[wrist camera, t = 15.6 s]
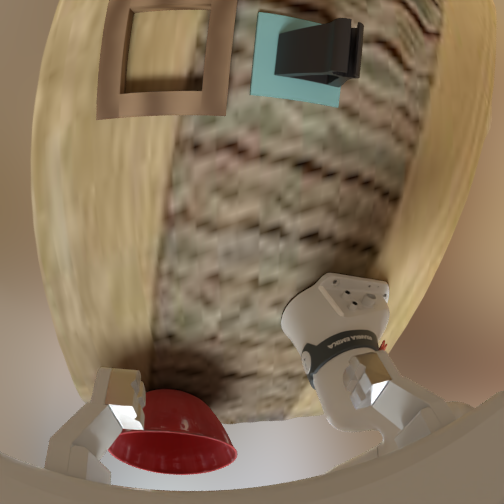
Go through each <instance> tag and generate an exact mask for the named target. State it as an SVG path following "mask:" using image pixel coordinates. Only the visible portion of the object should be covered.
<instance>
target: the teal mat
mask: <svg viewBox="0 0 504 504" xmlns="http://www.w3.org/2000/svg"><path fill="white" fill-rule="evenodd" d="M316 25H321V24H320V23H316V22H311V21H307V20H303V19H298V18H293V17H288V16H282V15H276V14H270V13H263V12H259V13H258V17H257V26H256V36H255V45H254V55H253V65H252V76H251V86H250V95H257V96H267V97H275V98H283V99H291V100H297V101H304V102H310V103H316V104H321V105H326V106H332V107H338V105H339V97H340V88H341V86H340V87H334V86H329V85H325V84H320V83H316V82H311V81H307V80H301V79H295V78H289V77H283V76H277V75H274V73H275V64H276V55H277V46H278V37H279V34H280V33H284V32H288V31H292V30H296V29H301V28H306V27H310V26H316Z"/></svg>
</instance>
